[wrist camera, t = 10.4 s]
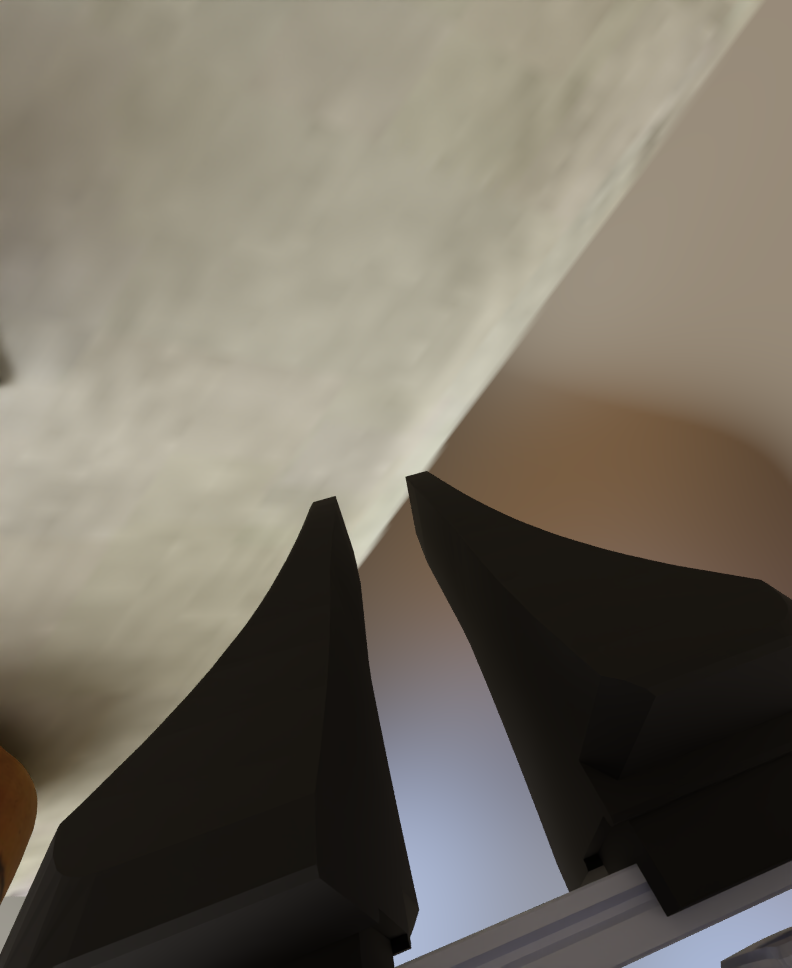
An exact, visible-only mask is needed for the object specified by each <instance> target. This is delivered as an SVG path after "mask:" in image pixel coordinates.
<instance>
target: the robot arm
mask: <svg viewBox="0 0 792 968" xmlns="http://www.w3.org/2000/svg"><path fill="white" fill-rule="evenodd" d="M406 482H407V487H408V493H409V498H410V503H411V509H412V514H413V520H414V525H415V530H416V534H417V537H418V539H419V542H420V545H421V548H422V550H423V553H424V555H425V558H426V560H427V563H428V564H429V567H430V568H431V570H432V572H433V574H434V576H435V578H436V580H437V582H438V584H439V585H440V587H441V589H442V591H443V593H444V595H445V596H446V598H447V600H448V602H449V604H450V606H451V608H452V610H453V612H454V613H455V615H456V617H457V619H458V621H459V623H460V625H461V627H462V628H463V630H464V633H465V635H466V637H467V639H468V641H469V643H470V645H471V647H472V650H473V652H474V654H475V657H476V659H477V662H478V664H479V666H480V669H481V671H482V673H483V676H484V678H485V681H486V683H487V686H488V688H489V691H490V693H491V695H492V698H493V700H494V703H495V705H496V708H497V710H498V713H499V715H500V718H501V720H502V722H503V725H504V727H505V730H506V733H507V735H508V738H509V740H510V743H511V745H512V748H513V750H514V753H515V755H516V758H517V760H518V763H519V765H520V768H521V771H522V773H523V776H524V778H525V781H526V783H527V786H528V789H529V791H530V794H531V796H532V799H533V801H534V804H535V807H536V810H537V812H538V815H539V817H540V820H541V823H542V825H543V828H544V831H545V833H546V836H547V838H548V841H549V844H550V846H551V849H552V852H553V855H554V857H555V860H556V863H557V865H558V867H559V870H560V872H561V874H562V877H563V879H564V881H565V883H566V886H567V888H568V890H569V893H567V894H564V895H562V896H560V897H557V898H555V899H553V900H551V901H548V902H546V903H543V904H541V905H539V906H536V907H534V908H532V909H529V910H527V911H525V912H522V913H520V914H518V915H515V916H513V917H511V918H508V919H506V920H504V921H501V922H499V923H497V924H495V925H492V926H490V927H488V928H485V929H483V930H481V931H479V932H476V933H474V934H471V935H469V936H467V937H464V938H462V939H460V940H457V941H455V942H453V943H450V944H448V945H446V946H443V947H441V948H439V949H436V950H434V951H432V952H429V953H427V954H425V955H422V956H420V957H418V958H415V959H413V960H411V961H408V962H406V963H404V964H401V965H399V966H397V967H395V968H622V967H624V966H626V965H628V964H630V963H632V962H634V961H637V960H639V959H641V958H643V957H645V956H647V955H650V954H652V953H654V952H656V951H658V950H660V949H663V948H665V947H667V946H669V945H671V944H673V943H675V942H678V941H680V940H682V939H684V938H686V937H688V936H691V935H693V934H695V933H697V932H699V931H701V930H703V929H706V928H708V927H710V926H712V925H714V924H716V923H719V922H721V921H723V920H725V919H727V918H729V917H731V916H734V915H736V914H738V913H740V912H742V911H744V910H747V909H749V908H751V907H753V906H755V905H757V904H759V903H762V902H764V901H766V900H768V899H770V898H773V897H775V896H777V895H779V894H781V893H783V892H785V891H788V890H790V889H792V600H791V599H790V598H788V597H787V596H785V595H784V594H782V593H781V592H779V591H777V590H776V589H775V588H773V587H771V586H770V585H768V584H767V583H765V582H763V581H762V580H759V579H752V578H747V577H741V576H734V575H729V574H722V573H717V572H711V571H705V570H699V569H693V568H687V567H682V566H676V565H671V564H666V563H662V562H657V561H652V560H648V559H643V558H639V557H634V556H630V555H625V554H622V553H618V552H614V551H610V550H606V549H602V548H599V547H595V546H592V545H588V544H585V543H581V542H578V541H574V540H572V539H568V538H565V537H562V536H559V535H556V534H553V533H550V532H548V531H544V530H542V529H540V528H537V527H534V526H531V525H529V524H526V523H524V522H521V521H519V520H516V519H514V518H512V517H510V516H507V515H505V514H503V513H501V512H499V511H497V510H495V509H492V508H490V507H488V506H486V505H484V504H482V503H480V502H479V501H476V500H475V499H473V498H471V497H469V496H467V495H466V494H463V493H462V492H460V491H459V490H457V489H455V488H454V487H452V486H450V485H449V484H447V483H445V482H444V481H442V480H440V479H439V478H437V477H436V476H434V475H432V474H431V473H429V472H427V471H425V472H421V473H418V474H414V475H410V476H407V477H406ZM418 911H419V907H418V902H417V898H416V893H415V888H414V884H413V879H412V875H411V870H410V865H409V861H408V856H407V851H406V847H405V843H404V837H403V833H402V828H401V823H400V819H399V814H398V809H397V805H396V800H395V795H394V790H393V786H392V781H391V776H390V771H389V766H388V761H387V756H386V751H385V747H384V742H383V736H382V731H381V726H380V722H379V716H378V711H377V706H376V701H375V697H374V691H373V686H372V681H371V674H370V667H369V661H368V651H367V642H366V632H365V621H364V611H363V602H362V593H361V583H360V578H359V573H358V569H357V564H356V560H355V555H354V551H353V548H352V545H351V542H350V539H349V536H348V533H347V530H346V527H345V524H344V520H343V517H342V514H341V511H340V508H339V505H338V502H337V499H336V496H334V497H330V498H327V499H323V500H319V501H316V502H313V504H312V505H311V507H310V509H309V512H308V514H307V517H306V519H305V522H304V524H303V526H302V529H301V531H300V533H299V535H298V537H297V540H296V542H295V544H294V546H293V548H292V550H291V552H290V554H289V556H288V558H287V560H286V562H285V563H284V565H283V567H282V569H281V570H280V572H279V574H278V576H277V577H276V579H275V581H274V583H273V584H272V586H271V588H270V589H269V591H268V593H267V594H266V596H265V597H264V599H263V601H262V602H261V604H260V605H259V607H258V608H257V610H256V611H255V612H254V614H253V615H252V617H251V618H250V620H249V621H248V623H247V624H246V625H245V627H244V628H243V629H242V631H241V632H240V633H239V634H238V636H237V637H236V638H235V639H234V641H233V642H232V643H231V644H230V646H229V647H228V648H227V649H226V651H225V652H224V653H223V654H222V656H221V657H220V658H219V659H218V661H217V662H216V663H215V664H214V666H213V667H212V668H211V669H210V671H209V672H208V673H207V674H206V675H205V676H204V678H203V679H202V680H201V681H200V682H199V683H198V684H197V685H196V687H195V688H194V689H193V690H192V691H191V692H190V693H189V694H188V696H187V697H186V698H185V699H184V700H183V701H182V702H181V703H180V704H179V705H178V707H177V708H176V709H175V710H174V711H173V712H172V713H171V714H170V715H169V716H168V717H167V718H166V719H165V721H164V722H163V723H162V724H161V725H160V726H159V727H158V728H157V729H156V730H155V731H154V732H153V733H152V734H151V735H150V736H149V737H148V738H147V739H146V740H145V741H144V742H143V744H142V745H141V746H140V747H139V748H137V749H136V750H135V751H134V752H133V753H132V754H131V755H130V756H129V757H128V758H127V759H126V760H125V761H124V762H123V763H122V764H121V765H120V766H119V767H118V768H117V769H116V770H115V771H114V772H113V773H112V774H111V775H110V776H109V777H108V778H107V779H106V780H105V781H104V782H103V783H102V784H101V785H100V786H99V787H98V788H97V789H96V790H95V791H94V792H93V793H92V794H91V795H90V796H89V797H88V798H87V799H86V800H85V801H84V802H83V803H82V804H81V805H80V806H79V807H77V808H76V809H75V810H74V811H73V812H72V813H71V814H70V815H69V816H68V817H67V818H66V819H65V820H64V821H63V822H62V823H61V824H60V825H59V827H58V829H57V831H56V833H55V835H54V837H53V839H52V841H51V843H50V846H49V848H48V850H47V852H46V854H45V857H44V859H43V861H42V863H41V865H40V868H39V870H38V872H37V874H36V877H35V879H34V881H33V883H32V885H31V888H30V890H29V892H28V894H27V896H26V899H25V901H24V903H23V905H22V907H21V910H20V912H19V914H18V916H17V918H16V921H15V923H14V925H13V927H12V929H11V932H10V934H9V936H8V938H7V941H6V943H5V945H4V947H3V949H2V952H1V954H0V968H394V961H393V956H395V955H397V954H400V953H402V952H404V951H407V950H409V949H411V941H410V936H411V934H412V931H413V928H414V925H415V921H416V918H417V915H418ZM721 968H792V927H789V928H787V929H784V930H782V931H779V932H777V933H775V934H773V935H771V936H768V937H766V938H764V939H762V940H760V941H758V942H756V943H754V944H752V945H750V946H748V947H746V948H745V949H743V950H741V951H739V952H738V953H735V954H734V955H732V956H730V957H728V958H726V959H725V960H723V961H721Z"/></svg>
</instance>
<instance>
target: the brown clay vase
mask: <svg viewBox="0 0 792 968" xmlns="http://www.w3.org/2000/svg"><path fill="white" fill-rule="evenodd" d="M36 815H37V793H36V790H35V786H34V783H33V781H32V779H31V777H30V776H29V774H28V772H27V771H26V769H25V768H24V766H23V765H22V764H21V763H20V762H19V761H18V760H17V759H16V758H15V757H13V756H12V755H11V754H9V753H8V752H7V751H6V750H4V749H3V748H2V747H1V746H0V904H1V902H2V900H3V898H4V896H5V894H6V892H7V890H8V888H9V886H10V884H11V882H12V880H13V878H14V876H15V873H16V871H17V869H18V867H19V864H20V862H21V860H22V857H23V855H24V852H25V849H26V847H27V844H28V842H29V839H30V837H31V834H32V831H33V829H34V824H35V819H36Z"/></svg>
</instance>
